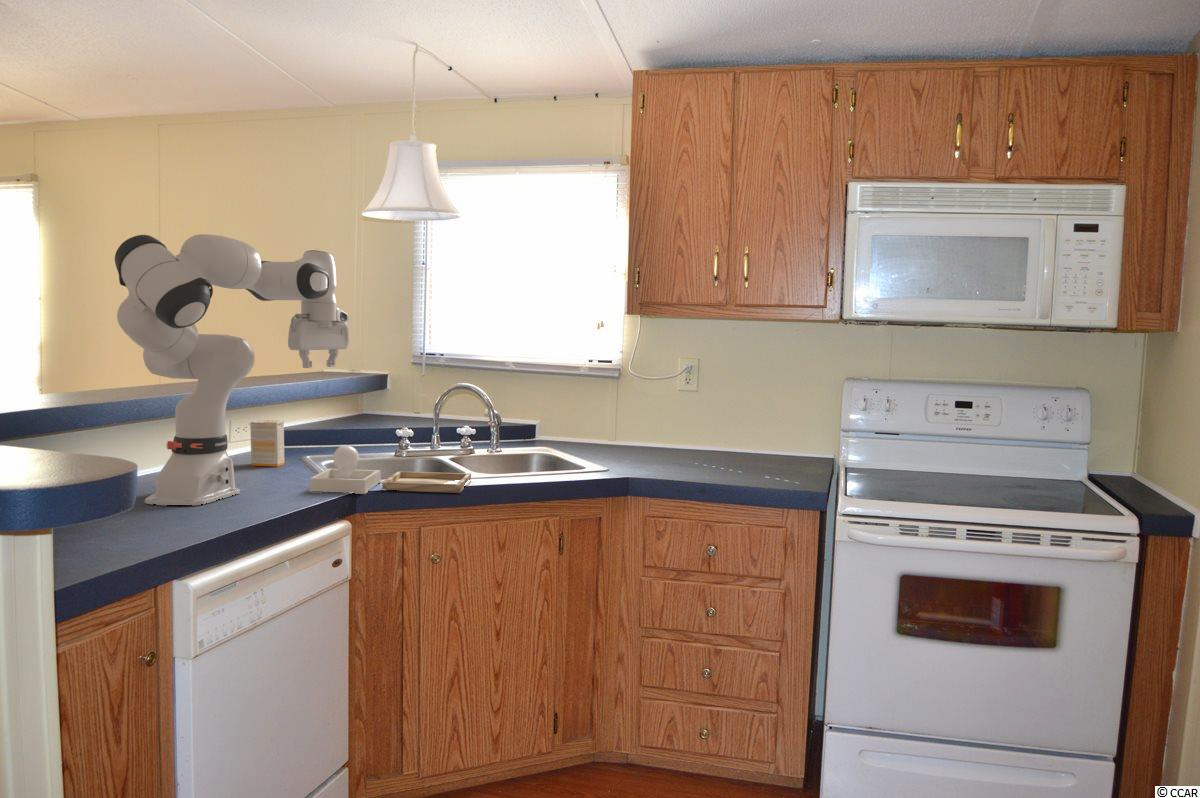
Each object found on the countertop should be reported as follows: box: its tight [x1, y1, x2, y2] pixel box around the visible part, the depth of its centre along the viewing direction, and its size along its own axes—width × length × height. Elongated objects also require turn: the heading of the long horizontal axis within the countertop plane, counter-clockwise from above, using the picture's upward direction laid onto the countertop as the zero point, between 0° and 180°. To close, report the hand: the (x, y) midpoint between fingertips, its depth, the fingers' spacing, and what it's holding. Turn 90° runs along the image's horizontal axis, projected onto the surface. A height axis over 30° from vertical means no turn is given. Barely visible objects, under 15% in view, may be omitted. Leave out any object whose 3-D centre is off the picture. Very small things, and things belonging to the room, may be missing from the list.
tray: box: [381, 470, 472, 494], centre depth 230 cm, size 16×20×2 cm
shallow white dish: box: [309, 468, 382, 495], centre depth 224 cm, size 14×14×4 cm
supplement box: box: [249, 419, 285, 468], centre depth 252 cm, size 8×5×13 cm, turn 84°
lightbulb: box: [332, 445, 360, 479], centre depth 224 cm, size 6×6×11 cm
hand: (319, 367), depth 227 cm, fingers open, 8 cm apart
